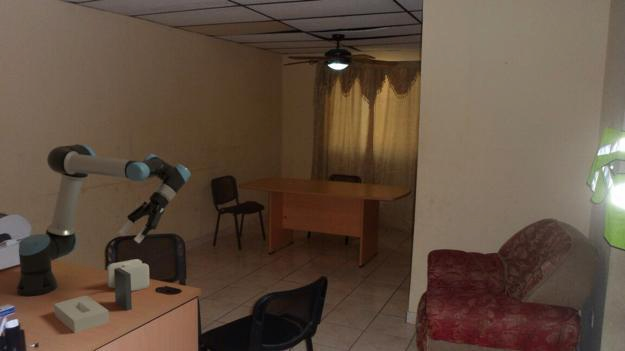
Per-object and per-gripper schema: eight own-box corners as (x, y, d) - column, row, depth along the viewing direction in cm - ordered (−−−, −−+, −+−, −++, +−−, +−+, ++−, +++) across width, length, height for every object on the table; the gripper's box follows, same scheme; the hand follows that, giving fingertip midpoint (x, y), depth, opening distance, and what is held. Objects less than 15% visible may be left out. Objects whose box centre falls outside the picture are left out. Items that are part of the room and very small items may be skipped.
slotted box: (54, 318, 177) (53, 303, 176) (87, 309, 186) (86, 295, 185) (75, 337, 163) (74, 320, 163) (109, 326, 172) (108, 310, 171)
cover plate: (115, 306, 189) (114, 268, 187) (120, 305, 190) (119, 267, 188) (126, 314, 182) (125, 275, 180) (131, 312, 184) (130, 273, 181)
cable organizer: (115, 296, 199) (114, 270, 197) (107, 288, 207) (106, 263, 205) (149, 288, 209) (149, 263, 207) (141, 281, 217) (140, 257, 215)
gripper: (183, 207, 190) (149, 249, 181) (153, 197, 207) (121, 236, 198) (172, 195, 185) (136, 239, 176) (141, 187, 202) (108, 226, 193)
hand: (128, 237), depth 187 cm, fingers open, 13 cm apart
